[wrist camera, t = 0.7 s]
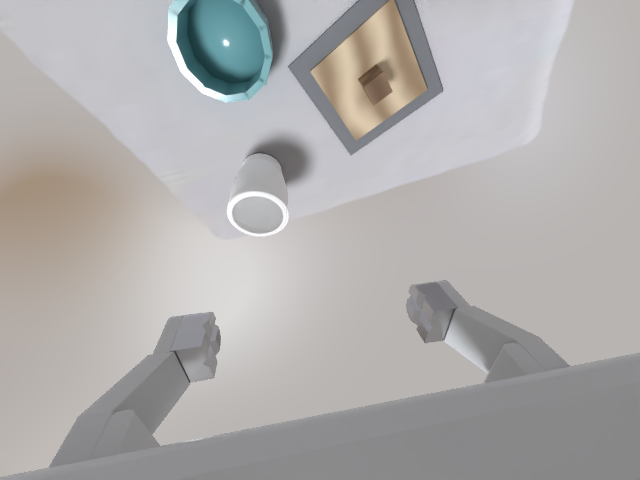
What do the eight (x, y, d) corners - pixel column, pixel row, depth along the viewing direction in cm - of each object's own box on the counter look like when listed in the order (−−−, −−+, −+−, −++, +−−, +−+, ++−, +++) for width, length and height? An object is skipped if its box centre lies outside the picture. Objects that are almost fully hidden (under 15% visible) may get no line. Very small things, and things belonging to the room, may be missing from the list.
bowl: (221, -49, 33) (212, -52, 28) (289, 50, 41) (290, 60, 37) (162, 29, 38) (146, 37, 33) (233, 104, 46) (228, 119, 41)
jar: (294, 159, 55) (297, 203, 44) (277, 196, 61) (276, 242, 51) (243, 139, 50) (234, 182, 40) (231, 181, 57) (220, 228, 46)
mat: (399, -39, 35) (400, -39, 35) (442, 90, 48) (443, 91, 47) (288, 66, 43) (288, 67, 42) (350, 154, 55) (350, 155, 55)
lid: (391, -4, 37) (403, -1, 34) (425, 88, 47) (438, 98, 43) (309, 70, 43) (312, 79, 39) (355, 139, 52) (360, 151, 49)
